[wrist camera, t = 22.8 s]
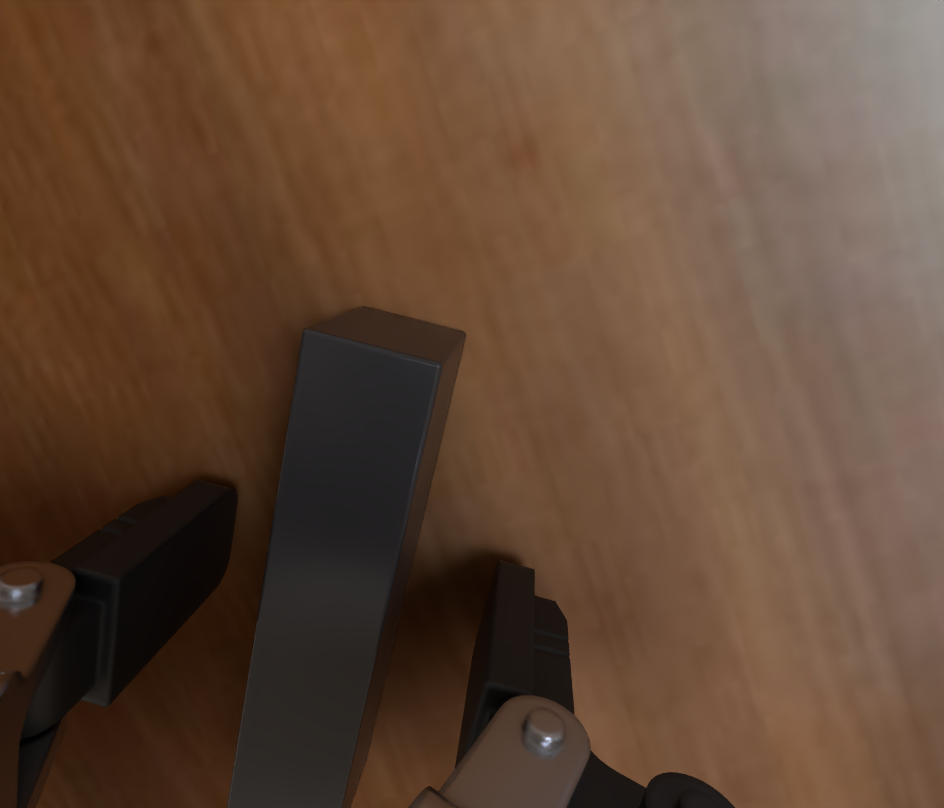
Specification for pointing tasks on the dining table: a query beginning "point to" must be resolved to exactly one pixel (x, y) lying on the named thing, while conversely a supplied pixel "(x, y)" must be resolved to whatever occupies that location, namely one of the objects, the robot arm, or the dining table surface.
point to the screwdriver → (340, 552)
